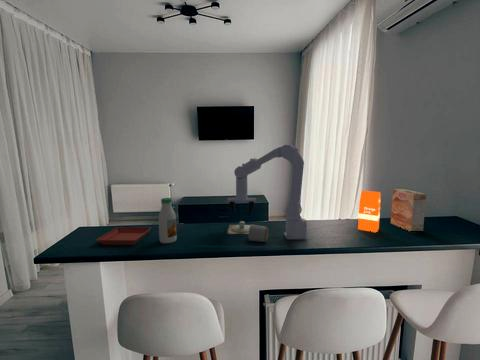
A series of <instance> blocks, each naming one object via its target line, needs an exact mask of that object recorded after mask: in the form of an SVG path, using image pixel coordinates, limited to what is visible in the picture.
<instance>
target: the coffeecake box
mask: <svg viewBox="0 0 480 360" xmlns="http://www.w3.org/2000/svg"><path fill="white" fill-rule="evenodd" d="M391 199H392V201H391V212H390V224H392V225H394V226H396V227H398V228H400V227H401V229H403V230H405V229H406V230H405V231H407V230H408V232H410V231H423V232H424V225H425V224H424V222H425V214H426V213H425V212H426V201H427V193H423V192H419V191H414V190H411V189H406V188H392V198H391Z"/></svg>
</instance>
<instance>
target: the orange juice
mask: <svg viewBox="0 0 480 360" xmlns="http://www.w3.org/2000/svg"><path fill="white" fill-rule="evenodd" d="M380 217H381V191H372V190H371V191H370V190H361V193H360V196H359V204H358V218H357V219H358V220H357V221H358V224H357V230H360V231H366V232H370V231H371V233H376V232H377V233H378V232H379V229H380Z"/></svg>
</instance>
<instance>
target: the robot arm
mask: <svg viewBox="0 0 480 360" xmlns="http://www.w3.org/2000/svg"><path fill="white" fill-rule="evenodd" d="M275 158H283V159H285V160H286V161H288V162H289V163H290V164H291V165H292V176H291V183H290V184H291V185H290V193H289V194H290V195H289V201H288V206H287V209H286V211H285V216H286V218H285V219H286V220H285V232H284V236H285V239H286V240H308V238H307V232H308V231H307V229H308V228H307V227H308V226H307V225H308V224H307V219H306V218H302V216H301V213H302V212H303V207H302V206H301V195H302V185H303V175H304V167H305V166H304V165H305V161H304V159H303V157H302V155H301V153H300V152H299V149H298V148H297V147H296V146H295V145H293V144H283V145H282V146H279V147H277V148H274V149H273V150H271V151H269V152H268V153H266V154H264V155H263V156H261V157H260V158H259V157H258V158H257V157H254V158H253V157H252V158H250V159H249V161H247V162H246V163H242V164H241V166H240V165H239V166H237V167H236V168H235V169H234V171H233V173H234V176H235V197H228V198H227V203H229V206H230V209H231V212H232V216H233V217H234V218H235V217H236V206H235V205H236V204H235V203H248V218H249V217H250V218H251V212H252V210H253V207H254V205H255V203H257V198H256V197H248V176H249V175H250V174H253V173H254V172H256V171H258V170H260V169H261V168H262V165H263V164H266V163H268V162H269V161H271V160H273V159H275Z"/></svg>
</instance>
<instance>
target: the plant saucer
mask: <svg viewBox="0 0 480 360" xmlns="http://www.w3.org/2000/svg"><path fill="white" fill-rule="evenodd" d="M151 229H152V227H142V226H141V227H133V226H132V227H129V226H126V227H122V226H120V227H115V228H114V229H112V230H111V231H108V232H107V233H105V234H103V235H102V236H100V237H98V238H97V239H96V241H97V242H98V243H99V244H102V245H105V246H106V245H108V246H109V245H111V246H113V245H114V246H116V245H117V246H134V245H135V244H137V243H139V241H141V240H142V239H143V238H144V237H145V236H147V234H149V232H150V231H151Z"/></svg>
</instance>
